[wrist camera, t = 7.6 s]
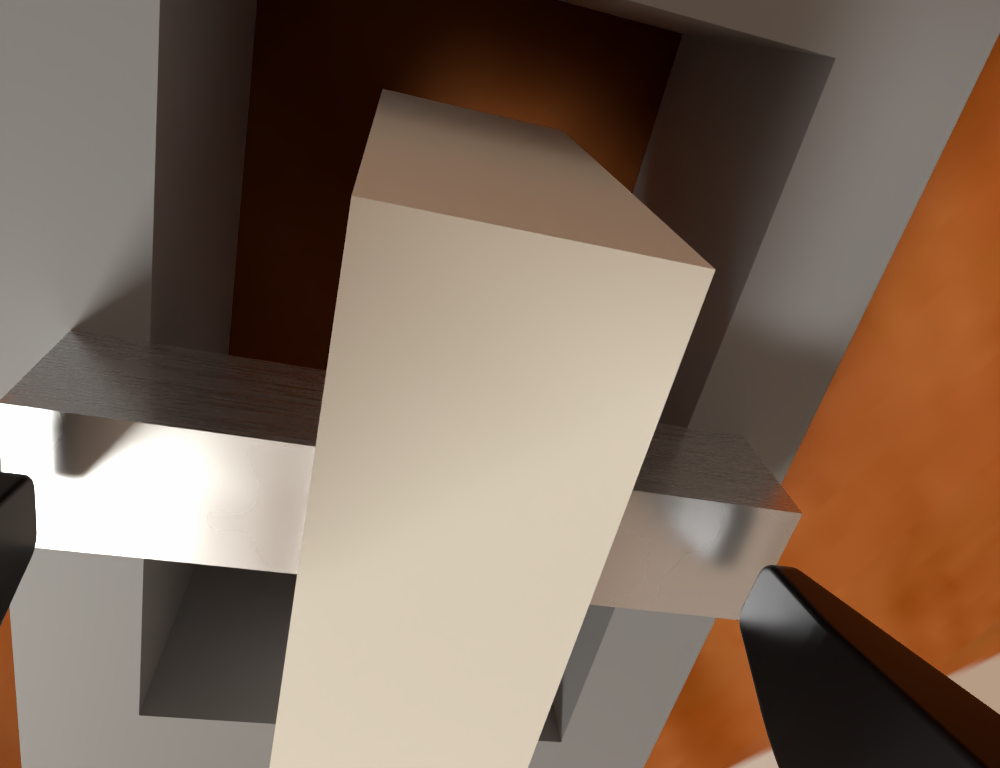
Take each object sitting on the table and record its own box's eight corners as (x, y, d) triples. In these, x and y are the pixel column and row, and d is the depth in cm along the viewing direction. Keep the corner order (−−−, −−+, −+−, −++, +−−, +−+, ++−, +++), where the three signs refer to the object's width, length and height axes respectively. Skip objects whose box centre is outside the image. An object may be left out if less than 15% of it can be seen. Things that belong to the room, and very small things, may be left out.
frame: (130, 563, 19) (22, 780, 14) (145, -260, 12) (-71, -465, 6) (571, 608, 22) (623, 808, 16) (814, -53, 14) (1054, -79, 9)
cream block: (314, 535, 16) (251, 888, 9) (382, 89, 12) (350, 195, 6) (454, 550, 16) (480, 892, 10) (563, 131, 12) (715, 269, 6)
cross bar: (73, 454, 11) (7, 544, 9) (70, 330, 10) (-4, 403, 8) (700, 534, 13) (747, 620, 11) (744, 436, 12) (803, 513, 10)
